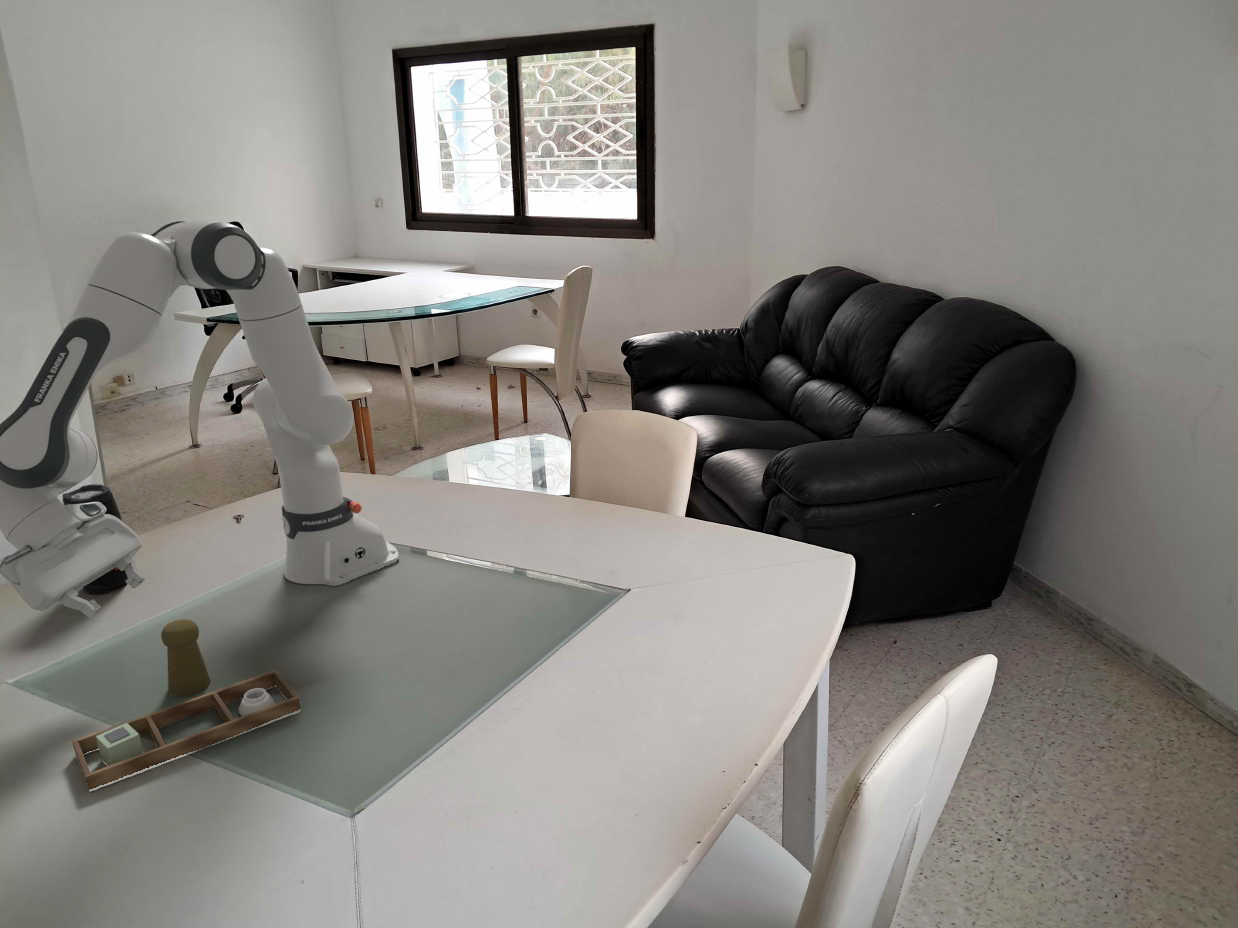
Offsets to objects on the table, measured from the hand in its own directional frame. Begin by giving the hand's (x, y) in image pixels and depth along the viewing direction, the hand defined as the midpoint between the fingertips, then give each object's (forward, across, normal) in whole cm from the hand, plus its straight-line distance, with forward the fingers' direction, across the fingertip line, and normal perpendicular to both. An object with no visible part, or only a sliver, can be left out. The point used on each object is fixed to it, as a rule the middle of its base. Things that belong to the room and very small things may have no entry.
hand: (118, 598), depth 134 cm
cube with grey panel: (+19, -18, +2) cm, 26 cm away
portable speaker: (-9, +27, +30) cm, 41 cm away
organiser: (+23, -11, -2) cm, 25 cm away
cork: (+17, 0, +4) cm, 17 cm away
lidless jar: (+27, -4, -6) cm, 28 cm away
